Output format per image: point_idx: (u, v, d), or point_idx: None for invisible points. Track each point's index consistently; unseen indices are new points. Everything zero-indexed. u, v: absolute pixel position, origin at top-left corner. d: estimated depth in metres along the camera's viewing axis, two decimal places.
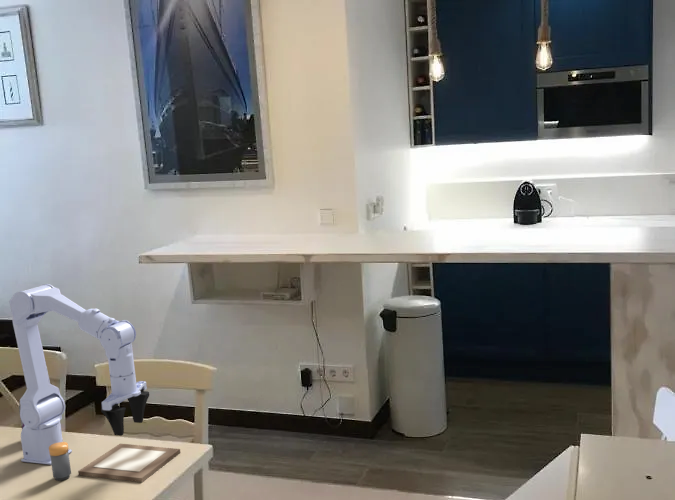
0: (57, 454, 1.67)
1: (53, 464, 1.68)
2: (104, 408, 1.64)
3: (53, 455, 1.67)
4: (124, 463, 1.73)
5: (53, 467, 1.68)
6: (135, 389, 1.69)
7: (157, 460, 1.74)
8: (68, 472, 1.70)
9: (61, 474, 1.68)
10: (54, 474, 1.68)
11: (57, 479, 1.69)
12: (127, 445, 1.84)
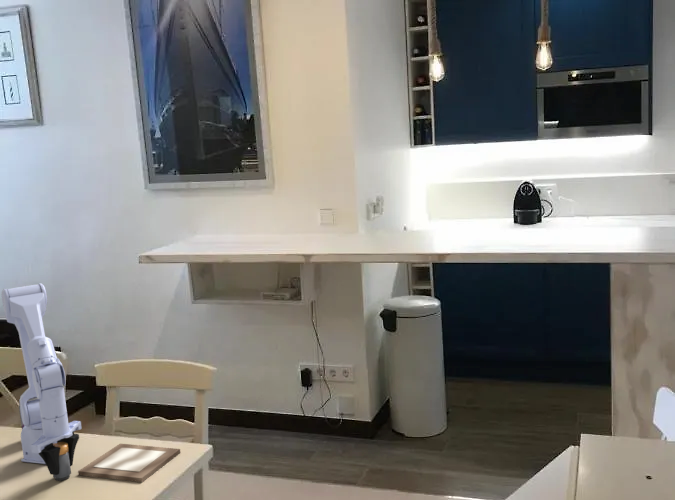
0: None
1: None
2: (33, 451, 1.62)
3: None
4: (124, 463, 1.73)
5: None
6: (67, 430, 1.68)
7: (157, 460, 1.74)
8: (68, 472, 1.70)
9: (61, 474, 1.68)
10: None
11: (57, 479, 1.69)
12: (127, 445, 1.84)
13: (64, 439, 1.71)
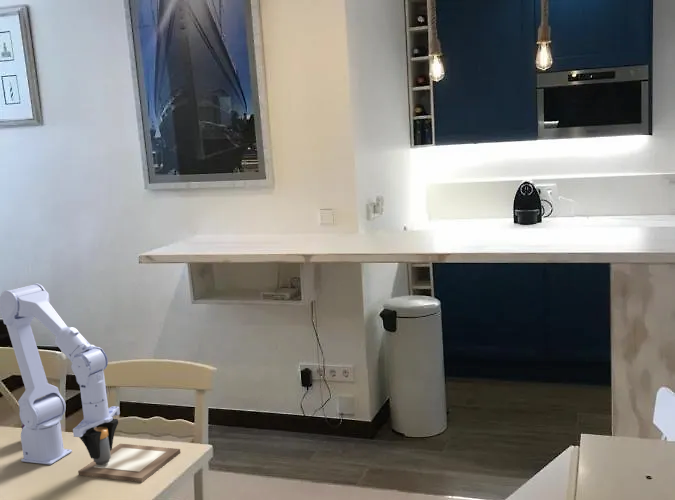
0: None
1: None
2: (75, 435, 1.65)
3: None
4: (124, 463, 1.73)
5: None
6: (107, 415, 1.71)
7: (157, 460, 1.74)
8: (109, 456, 1.72)
9: (102, 458, 1.71)
10: None
11: (97, 463, 1.72)
12: (127, 445, 1.84)
13: (104, 424, 1.74)
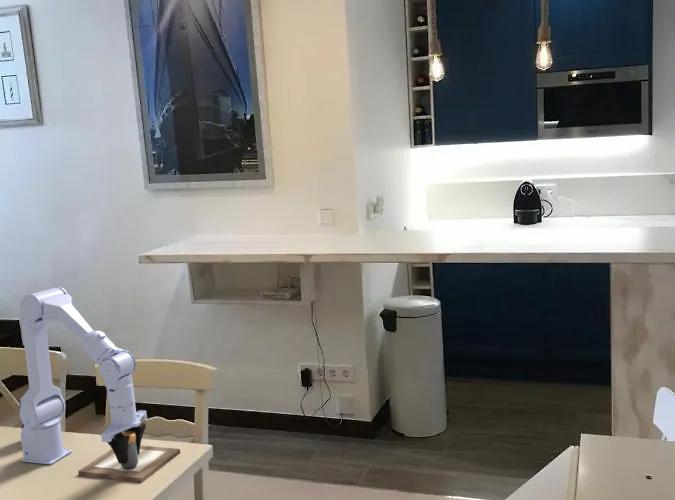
0: None
1: None
2: (104, 439, 1.63)
3: None
4: None
5: None
6: (135, 419, 1.69)
7: (157, 460, 1.74)
8: (136, 460, 1.70)
9: (129, 463, 1.69)
10: None
11: (125, 468, 1.69)
12: None
13: (131, 428, 1.72)
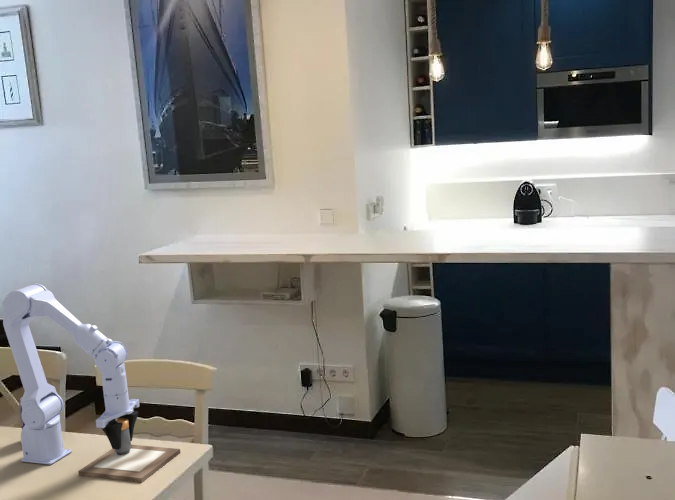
0: None
1: None
2: (98, 426, 1.72)
3: None
4: (124, 463, 1.73)
5: None
6: (128, 407, 1.77)
7: (157, 460, 1.74)
8: (129, 446, 1.79)
9: (122, 448, 1.77)
10: None
11: (118, 453, 1.78)
12: None
13: (124, 416, 1.80)
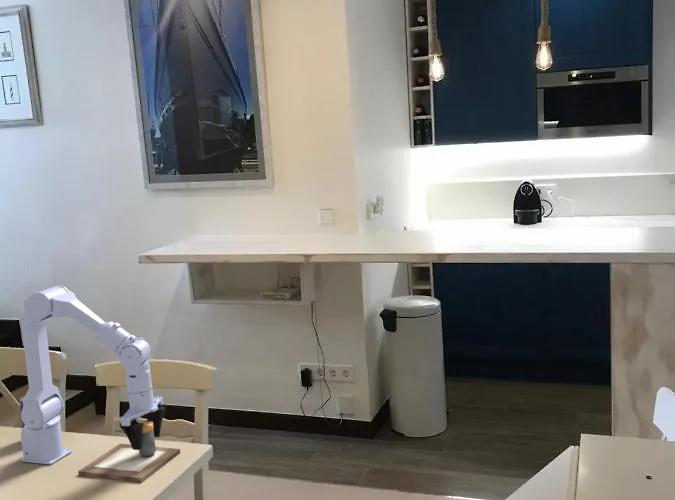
0: (144, 432, 1.74)
1: None
2: (123, 423, 1.69)
3: None
4: (124, 463, 1.73)
5: None
6: (152, 405, 1.75)
7: (157, 460, 1.74)
8: (154, 449, 1.76)
9: (147, 451, 1.75)
10: (140, 451, 1.75)
11: (143, 456, 1.75)
12: (127, 445, 1.84)
13: (152, 411, 1.79)
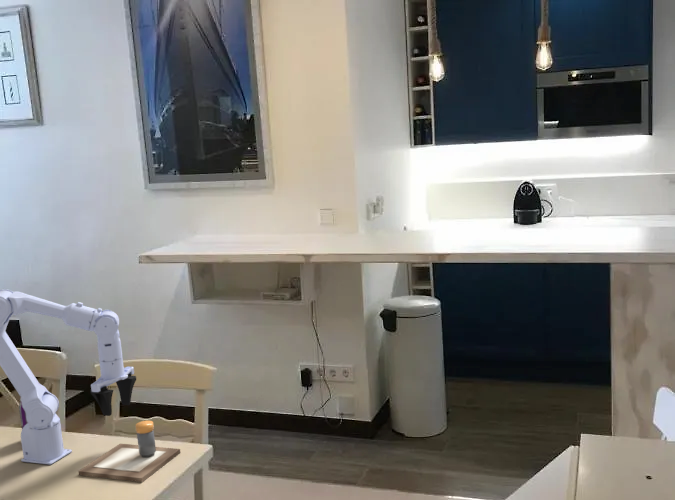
0: (144, 432, 1.74)
1: (140, 441, 1.75)
2: (93, 390, 1.77)
3: (140, 433, 1.74)
4: (124, 463, 1.73)
5: (140, 444, 1.75)
6: (122, 373, 1.83)
7: (157, 460, 1.74)
8: (154, 449, 1.76)
9: (147, 451, 1.75)
10: (140, 451, 1.75)
11: (143, 456, 1.75)
12: (127, 445, 1.84)
13: (123, 380, 1.87)
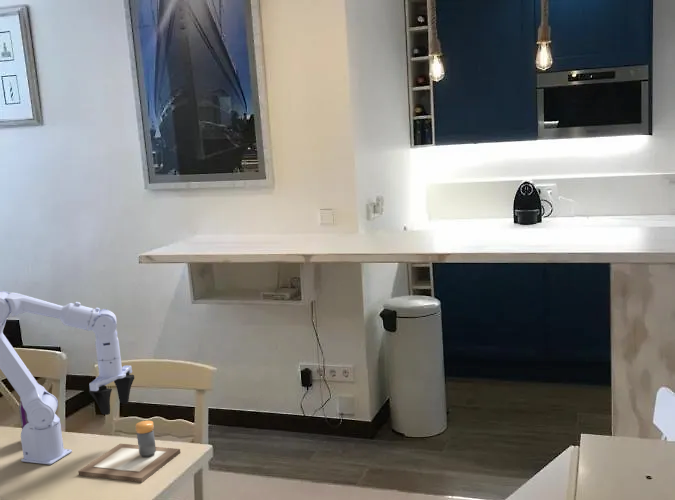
0: (144, 432, 1.74)
1: (140, 441, 1.75)
2: (91, 389, 1.78)
3: (140, 433, 1.74)
4: (124, 463, 1.73)
5: (140, 444, 1.75)
6: (120, 372, 1.84)
7: (157, 460, 1.74)
8: (154, 449, 1.76)
9: (147, 451, 1.75)
10: (140, 451, 1.75)
11: (143, 456, 1.75)
12: (127, 445, 1.84)
13: (121, 379, 1.88)
